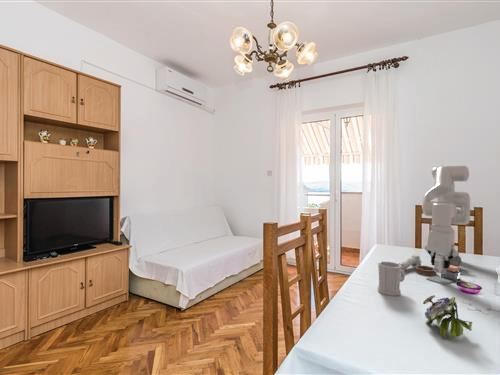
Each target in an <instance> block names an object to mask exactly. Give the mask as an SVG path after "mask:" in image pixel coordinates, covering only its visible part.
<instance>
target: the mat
mask: <svg viewBox="0 0 500 375" xmlns="http://www.w3.org/2000/svg"><path fill="white" fill-rule="evenodd" d="M426 281H430V282H434V283H437V284H441V285H444V286H445V285H446V286H447V285H448V284H452V283H455V282H454V281H452V280H448V279H445V278H441V276H437V275H434V276H429V277H427V278H426Z"/></svg>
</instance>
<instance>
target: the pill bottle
mask: <svg viewBox="0 0 500 375" xmlns="http://www.w3.org/2000/svg"><path fill="white" fill-rule="evenodd" d="M435 257H436V258H435V259H434V265H433V268H434V271H435V272H436V274H441V273H442V274H445V273H446V269H445V268H444V260H445V255H443V254H435Z"/></svg>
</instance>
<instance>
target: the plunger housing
mask: <svg viewBox="0 0 500 375" xmlns="http://www.w3.org/2000/svg"><path fill="white" fill-rule="evenodd" d="M458 273H459V272H458V271H455V272H451V271H448V270H446V273H445V274H442V273H440V277H441V278H445V279H448V280H452V281H454V282H453V283H455V282H458V281H459V280H458V279H457V276H458Z"/></svg>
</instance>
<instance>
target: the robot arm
mask: <svg viewBox="0 0 500 375" xmlns="http://www.w3.org/2000/svg"><path fill="white" fill-rule="evenodd" d="M431 175H432V177H433V179H434V186H433V187H432V188H430V189H429V190H428V191H427V192H426V193H425V194H424V195H423V199H422V205H421V210H422V213H423V215H424V216H427V217H431V224H430V225H429V226H428V228H430V230H429V232H428V237H427V243H426V245H425V247H424V248H423V249H424V250H425V252H427V254H429V257H430V263H431V266H434V259H435V258H436V257H435V254H443V255H445V260H444V268H445V269H447V268H449V267H450V260H451V259H452V258H454V257H456V256H458V253H457V252H456V251H457V250H456V249H455V234H456V232H455V229H454V228H453V227H452V226H451V225H452V224H453V225H463V226H465V225H468V224H469V223H470V221H471V197H470V194H469V193H468V192H465V191H455V190H456V189H455V187H456V185H455V182H467V181H468V180H469V179H470V178H469V177H470V170H469V167H468V166H467V165H446V166H443V165H441V166H435V167H433V168H432V169H431ZM434 199H437V201H432V200H434ZM450 253H453V255H450Z"/></svg>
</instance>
